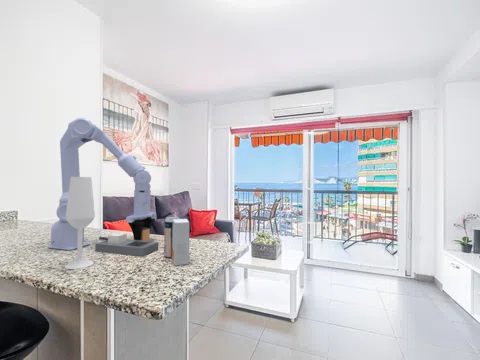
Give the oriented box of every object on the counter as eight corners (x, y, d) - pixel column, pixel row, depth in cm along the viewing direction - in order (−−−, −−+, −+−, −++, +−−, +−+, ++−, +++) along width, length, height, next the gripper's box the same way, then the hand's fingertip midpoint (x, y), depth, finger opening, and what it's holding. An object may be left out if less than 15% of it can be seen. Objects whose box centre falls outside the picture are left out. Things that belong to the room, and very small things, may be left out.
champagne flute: (89, 259, 71) (91, 177, 71) (96, 264, 67) (98, 177, 67) (61, 264, 66) (63, 176, 67) (67, 270, 62) (69, 176, 62)
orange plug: (133, 243, 89) (133, 228, 89) (140, 241, 93) (140, 226, 93) (142, 244, 88) (143, 229, 88) (149, 241, 92) (149, 227, 92)
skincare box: (171, 259, 72) (172, 219, 72) (186, 257, 74) (186, 218, 74) (173, 266, 67) (174, 222, 67) (189, 264, 68) (190, 221, 68)
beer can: (175, 259, 73) (176, 218, 73) (160, 257, 74) (161, 218, 74) (182, 254, 77) (183, 216, 77) (168, 253, 78) (169, 216, 78)
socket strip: (90, 250, 79) (90, 235, 79) (109, 244, 87) (109, 230, 87) (143, 256, 74) (143, 240, 74) (158, 249, 82) (158, 234, 82)
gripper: (138, 204, 83) (138, 244, 83) (162, 201, 97) (161, 235, 97) (121, 203, 85) (120, 242, 84) (147, 200, 99) (146, 234, 99)
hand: (141, 238), depth 91 cm, fingers closed on orange plug, 4 cm apart
